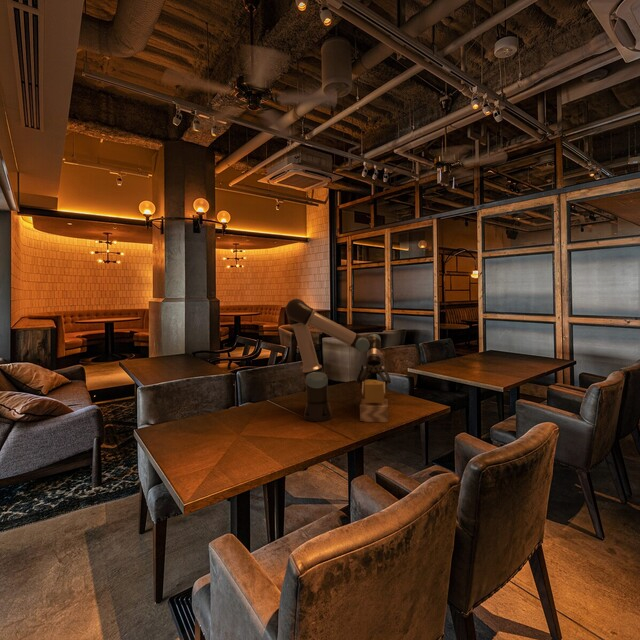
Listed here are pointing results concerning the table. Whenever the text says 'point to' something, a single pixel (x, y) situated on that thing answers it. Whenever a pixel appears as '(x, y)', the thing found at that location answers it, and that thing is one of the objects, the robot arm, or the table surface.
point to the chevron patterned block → (374, 411)
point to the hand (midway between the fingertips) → (373, 393)
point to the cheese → (374, 391)
